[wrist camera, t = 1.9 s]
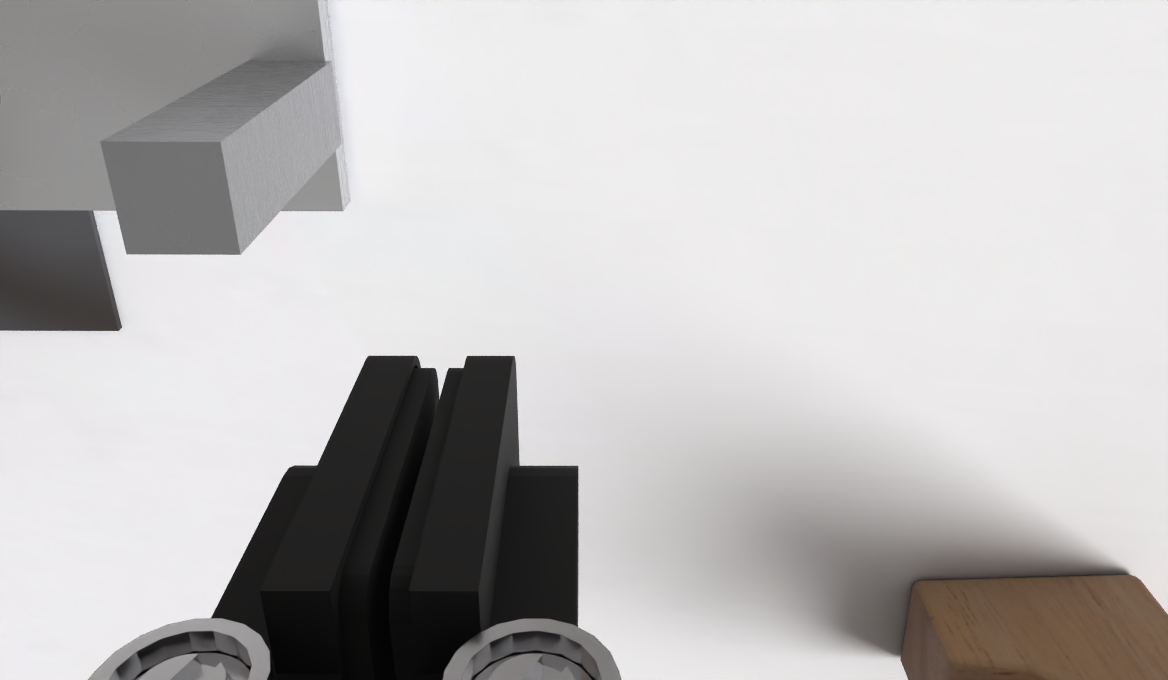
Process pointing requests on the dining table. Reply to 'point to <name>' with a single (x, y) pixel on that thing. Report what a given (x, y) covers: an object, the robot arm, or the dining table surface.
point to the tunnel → (54, 273)
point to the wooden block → (1035, 629)
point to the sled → (171, 116)
